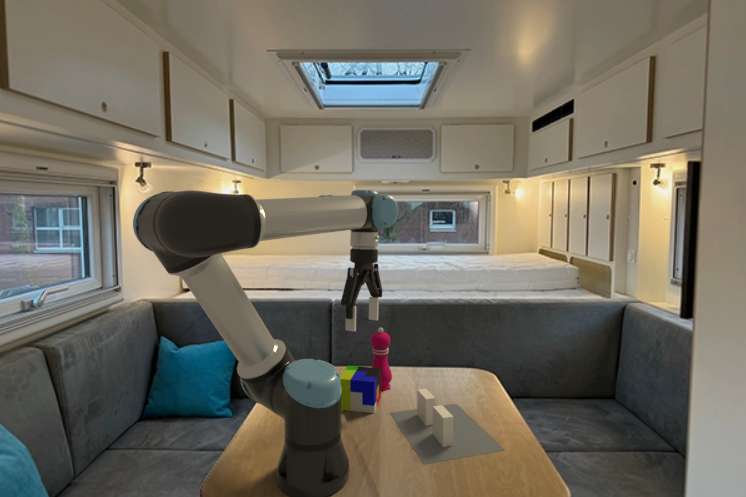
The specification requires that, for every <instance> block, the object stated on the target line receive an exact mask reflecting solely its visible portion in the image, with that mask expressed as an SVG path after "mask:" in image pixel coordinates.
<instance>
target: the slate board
mask: <svg viewBox="0 0 746 497" xmlns="http://www.w3.org/2000/svg"><path fill="white" fill-rule="evenodd" d="M442 405H443V404H442ZM443 406H444V407H445V409H446V410H447V411H448V412H449V413H450V414H451V415H452V416H453V445H452V446H446V447H443V446H442V445H441V444H440V443H439V441H438V440H437V439H436V438H435V436H434V435H433V434H432V425H427V426H426V425H425V424H424V423H423V421H422V420H421V419H420V418H419V416H418V415H417V408H414V409H406V410H401V411H392V412H391V411H390V412H389V414H390V416H391V417H392V419H393V420H394V421H395V424H396V425H397V426H398V427H399V429H400V431H401V432H402V433H403V435H404V436H405V438H406V440H407V441H408V442H409V444H410V446H411V447H412V448H413V450H414V451H415V453H416V454H417V456H418V457H419V459H420V460H421V462H422V463H423V465H429V464H436V463H440V462H445V461H450V460H457V459H458V460H459V459H463V458H468V457H474V456H475V457H476V456H479V455H481V456H482V455H485V454H493V453H497V452H503V451H506V449H505V448H504V447H503V446H502V445H501V444H500V443H499V442H498V441H496V440H495V439H494V438H493V437H492V436H491V435H490V434H489V432H487V431H486V430H485V429H484V428H483V427H482V426H481V425H480V424H479V423H478V422H477V421H475V420H474V419H473V418H472V416H470V415H469V414H468V413H467V412H466V411H465V410H464V409H463V408H462V407H461V406H459V404H458V403H452V404H445V405H443Z"/></svg>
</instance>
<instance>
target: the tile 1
mask: <svg viewBox="0 0 746 497" xmlns="http://www.w3.org/2000/svg"><path fill="white" fill-rule="evenodd" d="M416 394H417V395H416V398H417V399H416V409H417V415H418V416H419V418H420V419H421V420H422V421H423V423H424V424H425V425H426V426H427V425H432V423H433V406H436V397H435V396H434V395H433V394H432V393H431V392H430V391H429V390H428V389H427V388H418V389H417V391H416Z"/></svg>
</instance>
